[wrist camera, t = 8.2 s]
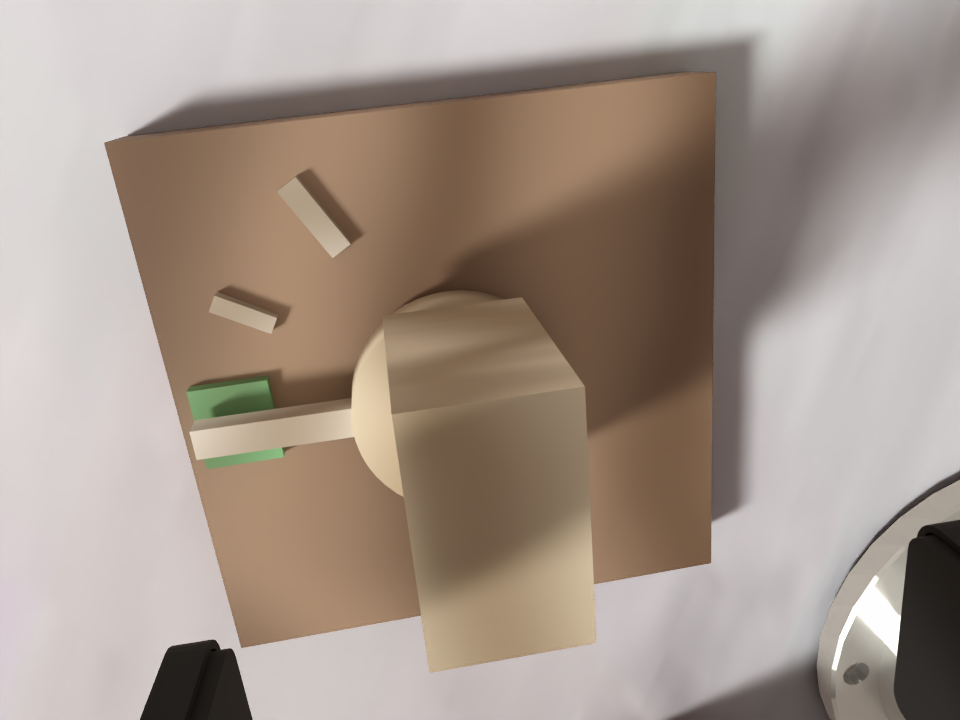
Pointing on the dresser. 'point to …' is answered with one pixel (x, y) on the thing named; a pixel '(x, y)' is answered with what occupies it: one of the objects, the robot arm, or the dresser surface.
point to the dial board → (420, 272)
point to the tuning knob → (465, 470)
